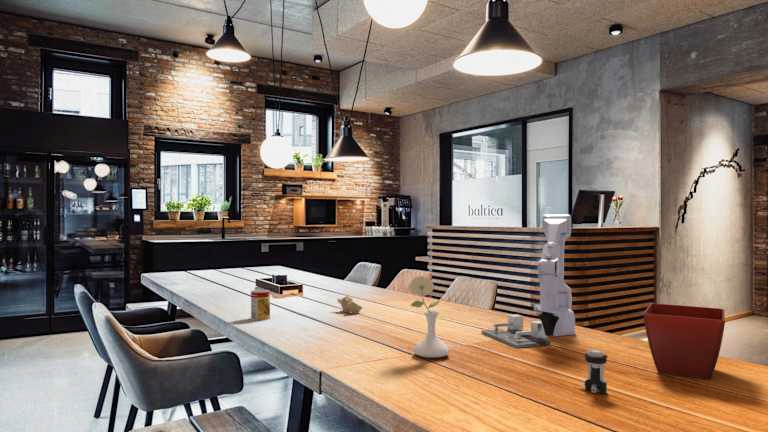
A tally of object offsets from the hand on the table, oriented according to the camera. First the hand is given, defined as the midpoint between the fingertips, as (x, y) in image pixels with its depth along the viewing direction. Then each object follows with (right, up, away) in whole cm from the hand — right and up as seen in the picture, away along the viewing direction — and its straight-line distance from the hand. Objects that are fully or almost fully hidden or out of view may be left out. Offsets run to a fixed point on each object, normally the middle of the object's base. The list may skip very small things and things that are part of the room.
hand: (549, 335), depth 180 cm
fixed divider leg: (-10, -2, +18) cm, 21 cm away
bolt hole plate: (-12, -4, +9) cm, 15 cm away
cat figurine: (-71, -4, +65) cm, 96 cm away
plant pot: (+29, -3, -30) cm, 42 cm away
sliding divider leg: (-5, -2, +4) cm, 7 cm away
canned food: (-109, -4, +51) cm, 120 cm away
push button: (-3, -4, -47) cm, 47 cm away
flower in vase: (-41, -4, -12) cm, 43 cm away
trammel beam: (-4, -3, +12) cm, 13 cm away
